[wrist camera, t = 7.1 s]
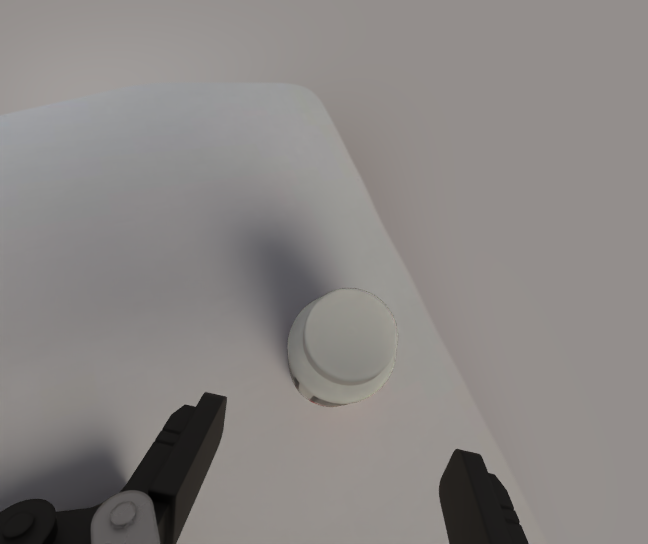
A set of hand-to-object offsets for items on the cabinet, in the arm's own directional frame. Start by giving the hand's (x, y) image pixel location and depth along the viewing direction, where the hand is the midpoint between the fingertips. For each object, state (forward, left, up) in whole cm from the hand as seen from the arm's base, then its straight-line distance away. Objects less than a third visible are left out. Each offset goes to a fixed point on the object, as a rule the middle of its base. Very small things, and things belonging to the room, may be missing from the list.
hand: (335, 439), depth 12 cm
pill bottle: (0, -4, -11) cm, 12 cm away
